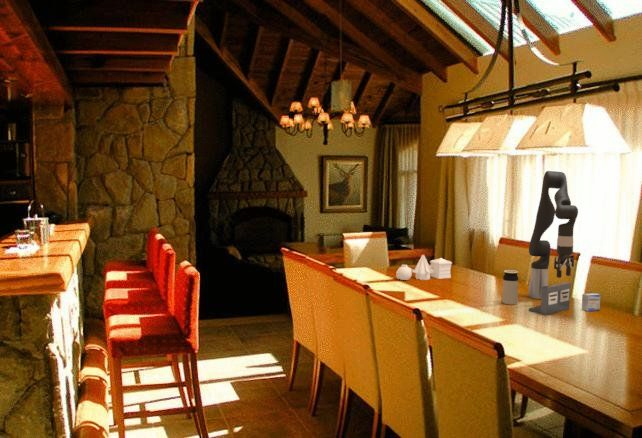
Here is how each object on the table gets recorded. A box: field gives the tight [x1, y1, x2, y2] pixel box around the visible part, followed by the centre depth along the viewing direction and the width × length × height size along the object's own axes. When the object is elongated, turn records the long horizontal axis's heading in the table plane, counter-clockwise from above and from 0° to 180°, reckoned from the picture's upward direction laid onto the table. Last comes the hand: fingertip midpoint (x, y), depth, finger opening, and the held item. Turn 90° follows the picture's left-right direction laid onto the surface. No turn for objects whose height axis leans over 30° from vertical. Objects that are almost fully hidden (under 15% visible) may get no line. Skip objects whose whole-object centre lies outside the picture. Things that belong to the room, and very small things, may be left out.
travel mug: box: [501, 269, 519, 306], centre depth 326 cm, size 8×8×18 cm
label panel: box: [528, 281, 572, 316], centre depth 311 cm, size 10×22×14 cm, turn 127°
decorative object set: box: [395, 254, 453, 281], centre depth 398 cm, size 40×18×16 cm, turn 115°
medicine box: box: [581, 292, 601, 312], centre depth 313 cm, size 8×4×9 cm, turn 107°
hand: (563, 276), depth 299 cm, fingers open, 8 cm apart
